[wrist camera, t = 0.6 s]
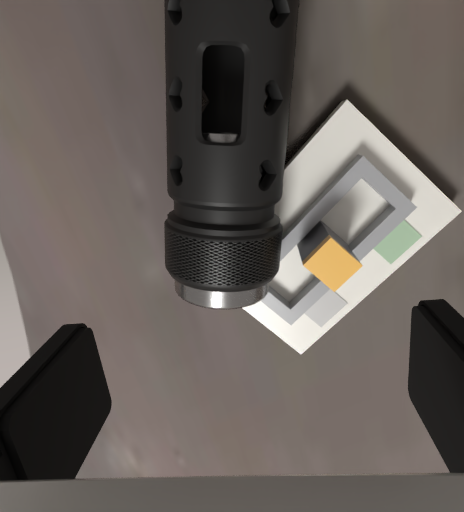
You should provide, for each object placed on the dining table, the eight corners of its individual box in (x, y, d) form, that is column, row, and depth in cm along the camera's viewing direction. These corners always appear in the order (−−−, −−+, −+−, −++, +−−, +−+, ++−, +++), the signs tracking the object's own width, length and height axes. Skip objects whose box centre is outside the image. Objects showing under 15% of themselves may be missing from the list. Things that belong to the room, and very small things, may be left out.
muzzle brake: (306, -82, 27) (328, -199, 18) (275, 268, 37) (278, 319, 27) (180, -83, 28) (133, -195, 18) (181, 261, 37) (151, 309, 28)
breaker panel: (342, 100, 32) (351, 98, 28) (450, 206, 34) (471, 215, 30) (198, 263, 38) (192, 277, 34) (299, 343, 40) (302, 363, 37)
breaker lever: (319, 219, 33) (330, 237, 28) (346, 242, 34) (362, 265, 28) (296, 242, 34) (303, 265, 28) (322, 265, 34) (334, 292, 29)
